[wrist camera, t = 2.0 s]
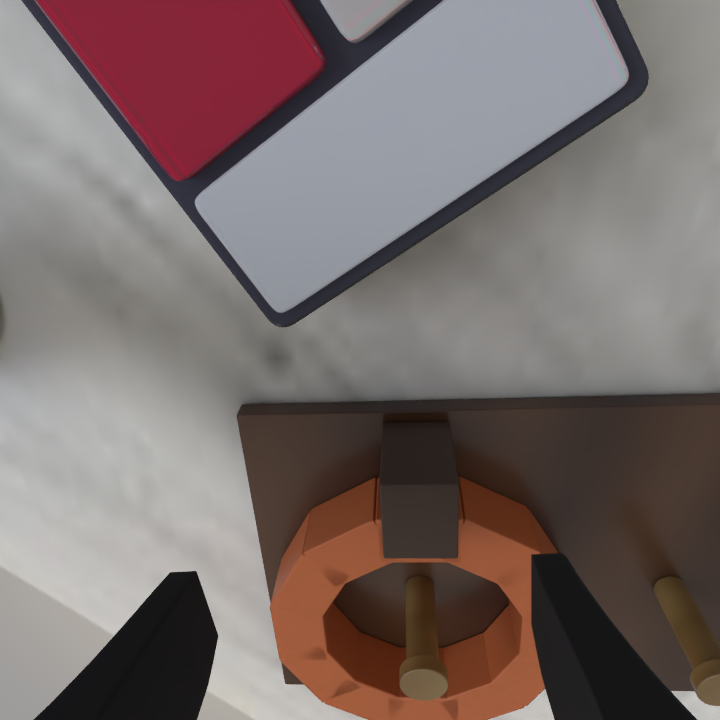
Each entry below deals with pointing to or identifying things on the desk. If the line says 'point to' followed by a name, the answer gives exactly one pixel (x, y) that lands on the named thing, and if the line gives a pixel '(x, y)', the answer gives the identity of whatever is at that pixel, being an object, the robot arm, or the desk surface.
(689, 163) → the desk surface
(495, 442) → the rack
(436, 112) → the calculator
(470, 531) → the ring
